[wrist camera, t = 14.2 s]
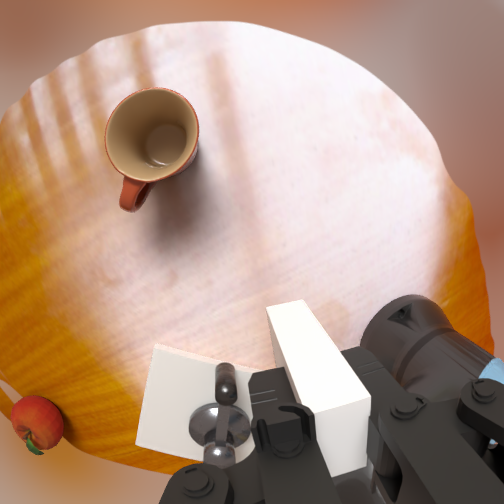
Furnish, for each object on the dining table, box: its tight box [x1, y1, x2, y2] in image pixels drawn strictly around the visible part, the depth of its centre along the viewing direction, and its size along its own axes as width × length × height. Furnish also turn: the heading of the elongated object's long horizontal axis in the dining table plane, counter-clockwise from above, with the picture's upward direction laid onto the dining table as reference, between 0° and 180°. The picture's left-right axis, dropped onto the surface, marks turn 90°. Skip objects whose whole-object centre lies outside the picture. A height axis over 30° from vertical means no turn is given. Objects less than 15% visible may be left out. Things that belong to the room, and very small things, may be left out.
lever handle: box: [188, 362, 251, 469], centre depth 38 cm, size 19×9×6 cm, turn 173°
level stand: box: [136, 343, 265, 463], centre depth 39 cm, size 22×20×8 cm
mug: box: [105, 87, 199, 213], centre depth 31 cm, size 12×9×10 cm
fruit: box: [11, 395, 64, 455], centre depth 36 cm, size 10×10×10 cm
